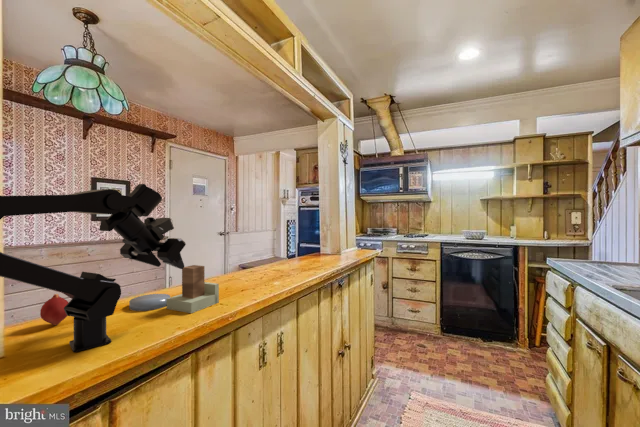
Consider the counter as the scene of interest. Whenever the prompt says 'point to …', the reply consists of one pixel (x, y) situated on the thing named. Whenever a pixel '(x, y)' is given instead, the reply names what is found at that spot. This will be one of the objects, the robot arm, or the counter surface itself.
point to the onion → (54, 310)
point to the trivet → (148, 302)
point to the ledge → (195, 300)
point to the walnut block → (193, 281)
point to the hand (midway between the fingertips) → (171, 266)
